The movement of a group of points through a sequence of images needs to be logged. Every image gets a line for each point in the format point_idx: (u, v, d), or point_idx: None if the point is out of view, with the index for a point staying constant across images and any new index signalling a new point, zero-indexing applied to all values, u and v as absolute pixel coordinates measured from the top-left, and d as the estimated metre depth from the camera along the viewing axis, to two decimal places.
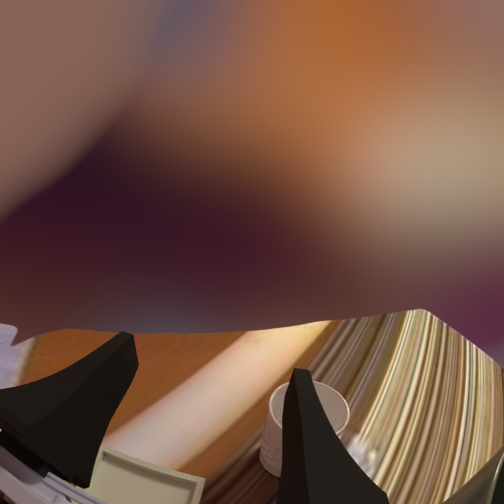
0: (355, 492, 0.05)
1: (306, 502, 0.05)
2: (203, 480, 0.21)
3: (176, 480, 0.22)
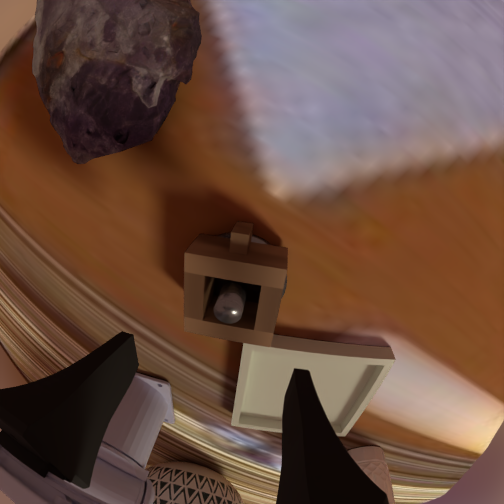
0: (355, 492, 0.05)
1: (306, 502, 0.05)
2: (342, 435, 0.24)
3: (348, 412, 0.24)
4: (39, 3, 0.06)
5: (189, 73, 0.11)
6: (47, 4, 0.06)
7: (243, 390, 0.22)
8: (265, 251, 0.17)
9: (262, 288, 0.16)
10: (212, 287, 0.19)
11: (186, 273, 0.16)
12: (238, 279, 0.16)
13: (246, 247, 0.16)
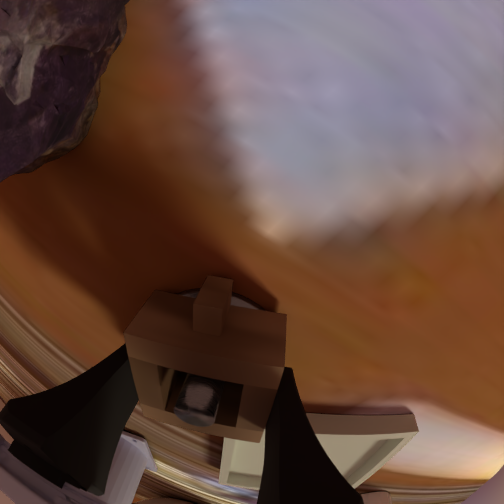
0: (328, 493, 0.05)
1: (277, 501, 0.05)
2: None
3: (354, 471, 0.18)
4: None
5: (96, 31, 0.04)
6: None
7: (229, 460, 0.16)
8: (251, 326, 0.11)
9: (245, 387, 0.09)
10: None
11: (131, 358, 0.10)
12: (207, 375, 0.09)
13: (219, 326, 0.10)
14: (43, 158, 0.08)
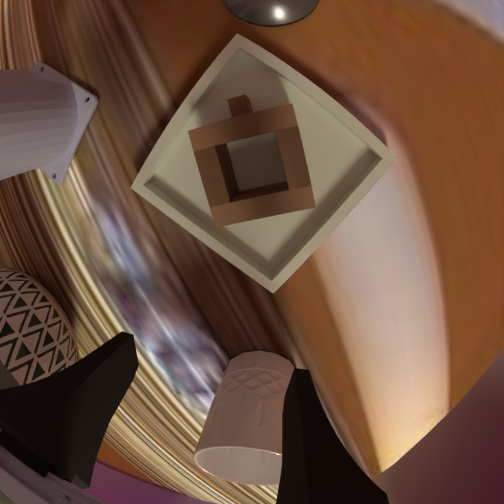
0: (355, 492, 0.05)
1: (306, 502, 0.05)
2: (270, 290, 0.19)
3: (294, 249, 0.19)
4: None
5: None
6: None
7: (188, 110, 0.15)
8: None
9: (277, 133, 0.14)
10: (233, 178, 0.17)
11: (196, 152, 0.14)
12: (249, 133, 0.14)
13: (247, 107, 0.14)
14: None
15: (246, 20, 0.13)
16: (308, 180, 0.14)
